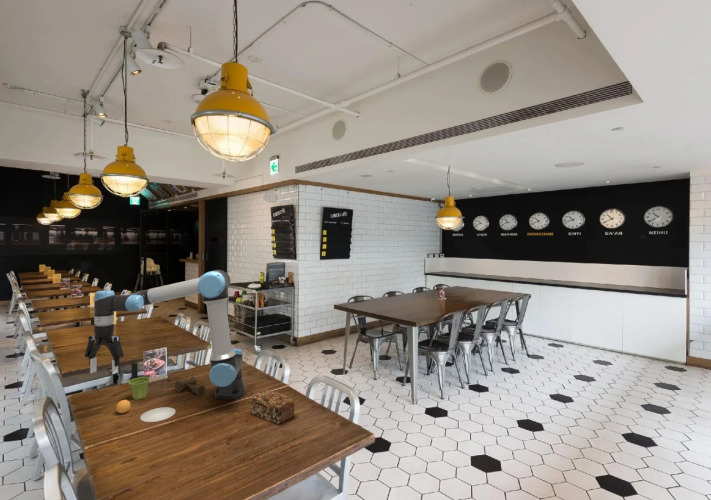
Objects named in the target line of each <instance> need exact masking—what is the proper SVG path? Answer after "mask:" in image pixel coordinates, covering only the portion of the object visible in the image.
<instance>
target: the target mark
mask: <svg viewBox="0 0 711 500" xmlns="http://www.w3.org/2000/svg"><path fill="white" fill-rule="evenodd" d="M175 414H176V409H175V408H173V407H165V406H162V407H156V408H153V409H150V410H147V411H145V412H143V413H142V414H141V415H140V417H139V418H140V420H141V421H142V422H145V423H156V422H160V421H165V420H167V419H169V418H171V417H173V416H174V415H175Z"/></svg>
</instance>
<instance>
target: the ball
mask: <svg viewBox="0 0 711 500" xmlns="http://www.w3.org/2000/svg"><path fill="white" fill-rule="evenodd" d="M130 408H131V402H130V401H129V400H128V399H123V400H120V401H119V402H117V404H116V411H117V413H119V414H125V413H127V412H128V411H129V410H130Z"/></svg>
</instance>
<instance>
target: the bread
mask: <svg viewBox="0 0 711 500" xmlns="http://www.w3.org/2000/svg"><path fill="white" fill-rule="evenodd" d="M249 409H250V413H251V414H252V415H255V416H257V417H259V418H261V419H263V420H266V421H269V422H272V423H275V424H283V423H284V422H285V421H286V420H290V419H291V418H293V417H294V414H295V401H294V400H293V399H292V398H290V397H289V396H287V395H285V394H283V393H279V392H277V391H273V390H270V389H259V390H258V391H255V392H254V393H253V394H252V395H251V396H250V400H249Z"/></svg>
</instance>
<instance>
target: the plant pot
mask: <svg viewBox="0 0 711 500" xmlns="http://www.w3.org/2000/svg"><path fill="white" fill-rule="evenodd" d="M150 380H151V378H150V377H148V376H141V377H136V378H132V379H130V380H129V381H128V384H129V387H130V391H131V397H132V399H133V401H135V400H136V401H137V400H141V399H144V398H146V397H147V395H148V387H149V383H150Z"/></svg>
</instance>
